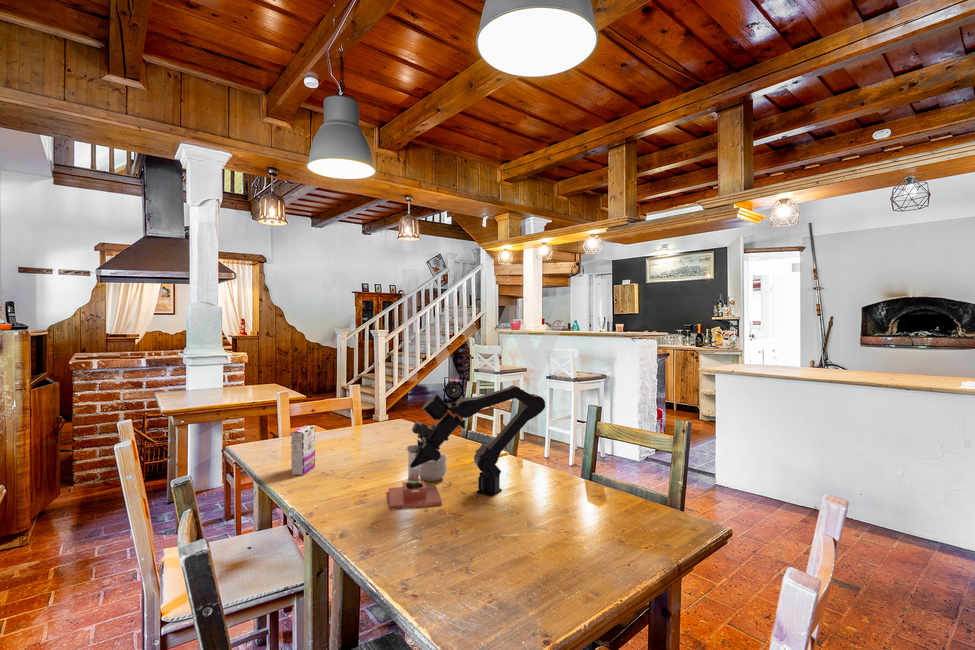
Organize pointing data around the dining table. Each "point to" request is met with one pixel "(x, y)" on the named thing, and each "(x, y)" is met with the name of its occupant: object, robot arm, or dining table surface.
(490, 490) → the robot arm
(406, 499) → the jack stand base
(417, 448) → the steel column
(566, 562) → the dining table surface
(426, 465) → the teacup
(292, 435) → the candy bar box
